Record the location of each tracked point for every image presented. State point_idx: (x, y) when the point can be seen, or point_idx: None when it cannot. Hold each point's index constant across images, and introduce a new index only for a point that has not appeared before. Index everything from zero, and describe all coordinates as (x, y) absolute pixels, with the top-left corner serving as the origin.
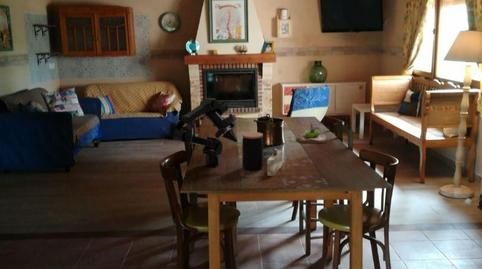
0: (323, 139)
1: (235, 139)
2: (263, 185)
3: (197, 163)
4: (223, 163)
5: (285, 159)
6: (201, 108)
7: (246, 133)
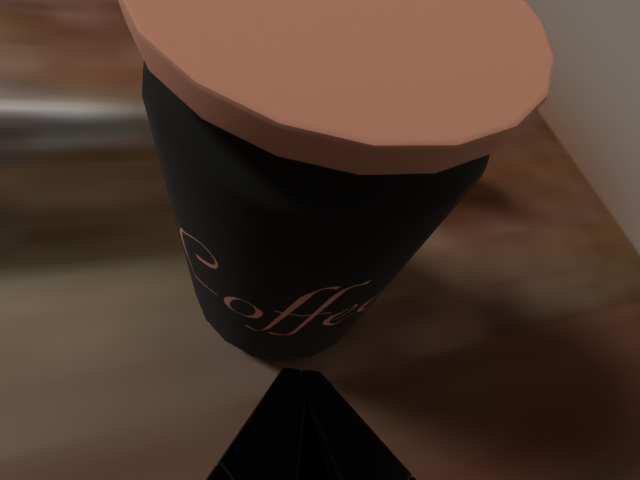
0: None
1: (340, 405)
2: (567, 191)
3: None
4: None
5: (27, 92)
6: None
7: (297, 67)
